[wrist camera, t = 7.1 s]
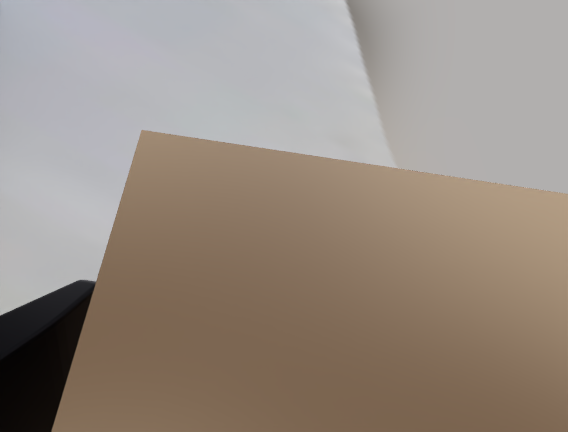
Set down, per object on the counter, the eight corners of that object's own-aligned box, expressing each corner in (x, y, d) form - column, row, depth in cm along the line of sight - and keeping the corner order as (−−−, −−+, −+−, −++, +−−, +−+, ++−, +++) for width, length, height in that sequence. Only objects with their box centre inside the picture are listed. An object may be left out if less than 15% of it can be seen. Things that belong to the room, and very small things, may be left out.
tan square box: (370, 486, 14) (861, 1130, 2) (198, 460, 14) (-112, 976, 2) (381, 310, 16) (681, 210, 4) (230, 287, 16) (142, 130, 4)
